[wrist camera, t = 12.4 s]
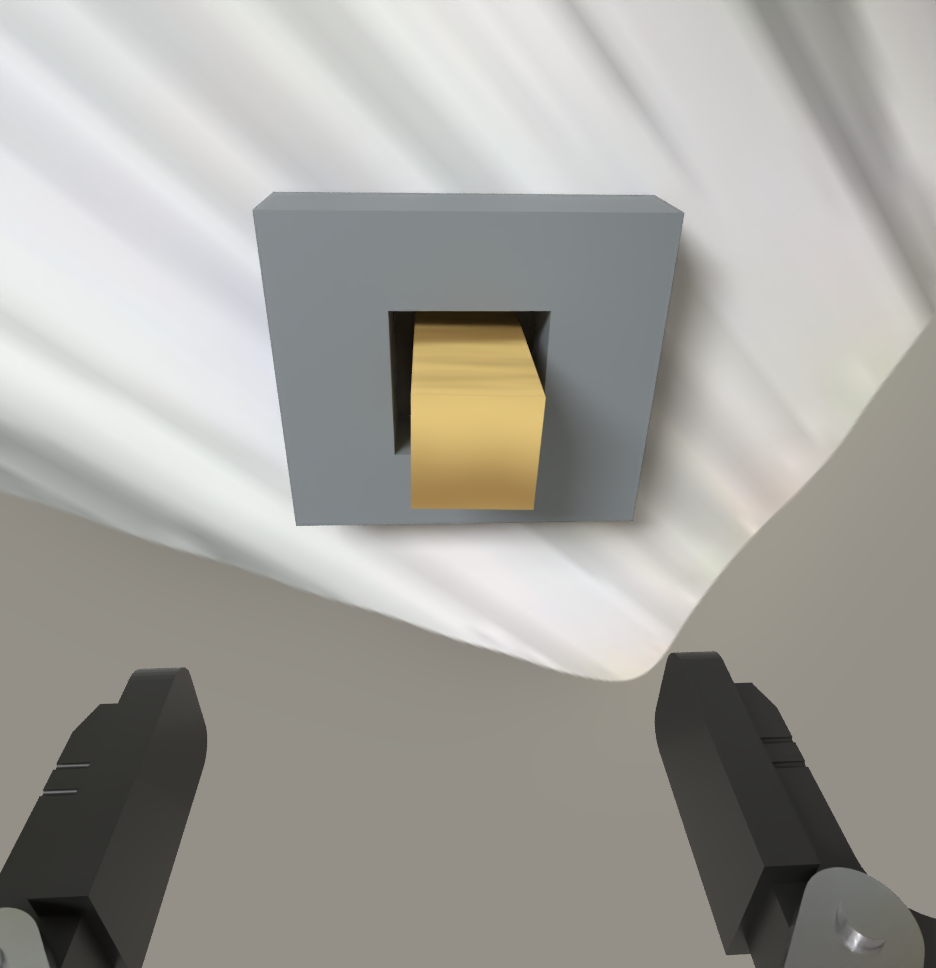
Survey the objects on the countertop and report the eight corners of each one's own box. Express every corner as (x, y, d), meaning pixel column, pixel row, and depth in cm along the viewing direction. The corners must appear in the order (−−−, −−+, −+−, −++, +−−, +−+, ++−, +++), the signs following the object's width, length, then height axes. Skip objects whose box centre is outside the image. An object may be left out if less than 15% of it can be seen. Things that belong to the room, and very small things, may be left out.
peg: (415, 304, 31) (410, 394, 23) (514, 307, 32) (545, 397, 23) (415, 395, 34) (410, 508, 25) (507, 397, 34) (533, 509, 26)
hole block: (273, 191, 29) (252, 209, 25) (654, 195, 29) (684, 212, 26) (308, 481, 36) (296, 525, 33) (613, 478, 37) (632, 520, 33)
